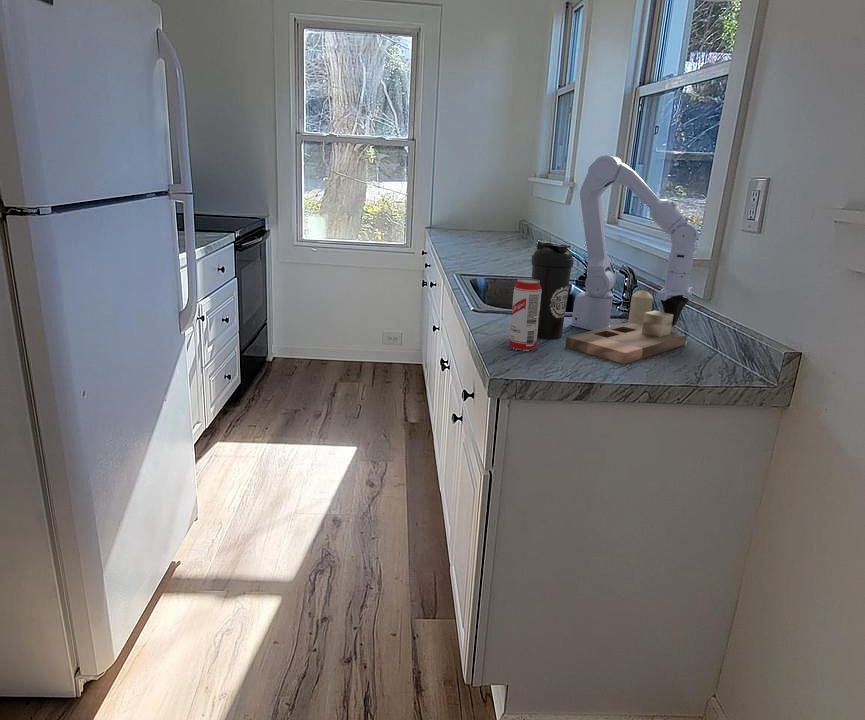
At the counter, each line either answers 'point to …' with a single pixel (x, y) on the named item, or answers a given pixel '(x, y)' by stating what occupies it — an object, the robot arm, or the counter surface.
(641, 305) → the cream domed cylinder
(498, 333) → the counter surface
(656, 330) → the maple block
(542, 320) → the water bottle
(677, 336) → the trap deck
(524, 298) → the beer can
